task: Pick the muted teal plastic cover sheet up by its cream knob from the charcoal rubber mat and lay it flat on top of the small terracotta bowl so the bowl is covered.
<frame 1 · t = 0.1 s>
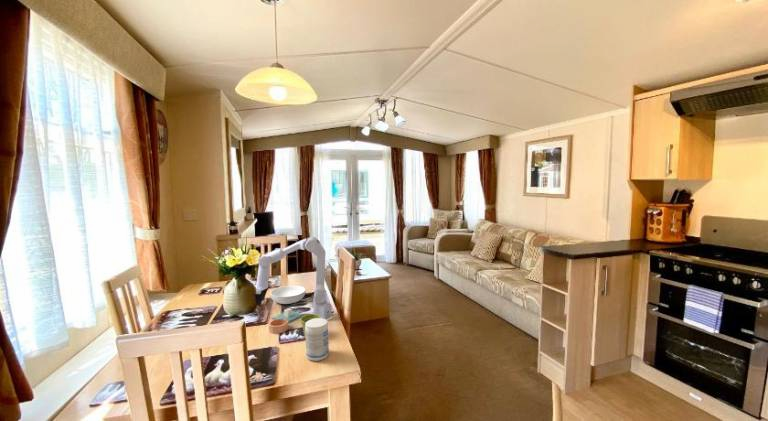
hand: (260, 302, 169), 10 cm above the table, tool pointing down, fingers open, 7 cm apart
serving bowl: (288, 301, 199), on the table
bowl: (278, 330, 160), on the table
supplement tub: (317, 356, 137), on the table
mat: (288, 317, 175), on the table
cover sheet: (288, 316, 175), resting on mat
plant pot: (311, 335, 155), on the table
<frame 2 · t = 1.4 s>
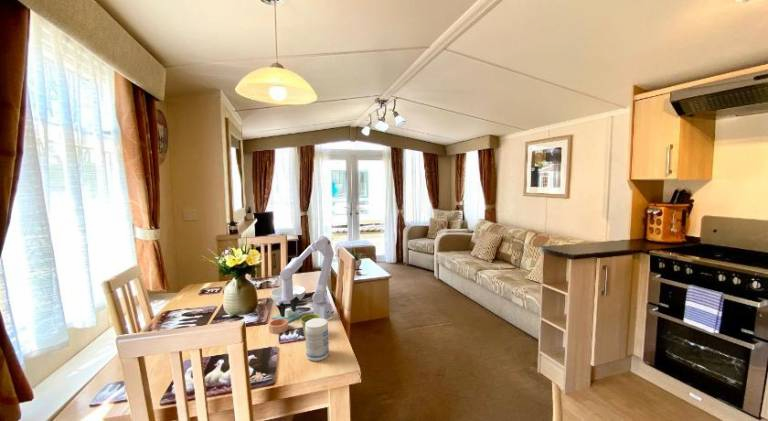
hand: (288, 313, 175), 2 cm above the table, tool pointing down, fingers open, 7 cm apart
nothing on the table moved.
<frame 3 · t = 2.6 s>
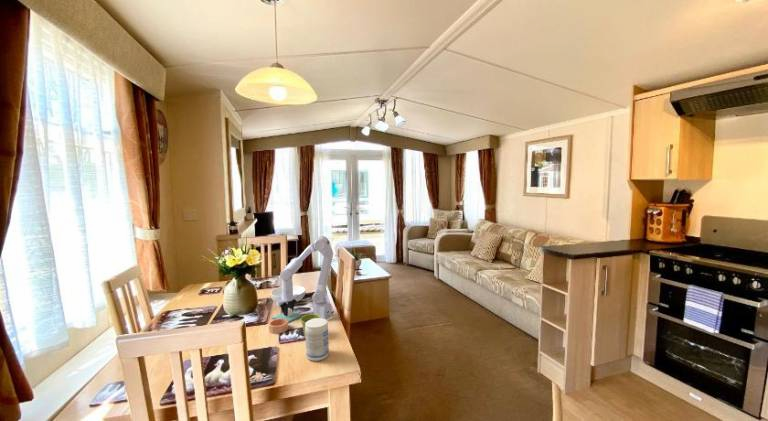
hand: (288, 314, 175), 2 cm above the table, tool pointing down, fingers closed on cover sheet, 3 cm apart
cover sheet: (288, 316, 175), resting on mat, touching gripper
everything else where it was.
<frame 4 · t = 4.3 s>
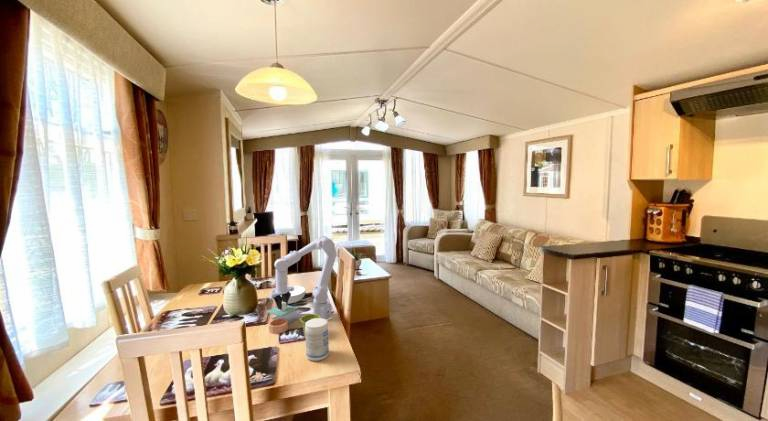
hand: (282, 307, 166), 9 cm above the table, tool pointing down, fingers closed on cover sheet, 3 cm apart
cover sheet: (282, 310, 166), point 7 cm above the table, touching gripper
everything else where it was.
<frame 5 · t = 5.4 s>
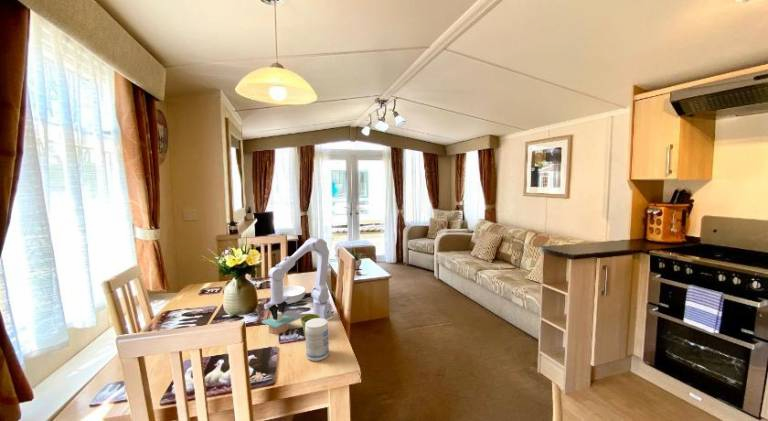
hand: (278, 317, 160), 6 cm above the table, tool pointing down, fingers closed on cover sheet, 3 cm apart
cover sheet: (278, 321, 160), point 5 cm above the table, touching gripper
everything else where it was.
when the fingers open (6 cm above the table, at t = 6.0 s): cover sheet stays where it is, resting on bowl.
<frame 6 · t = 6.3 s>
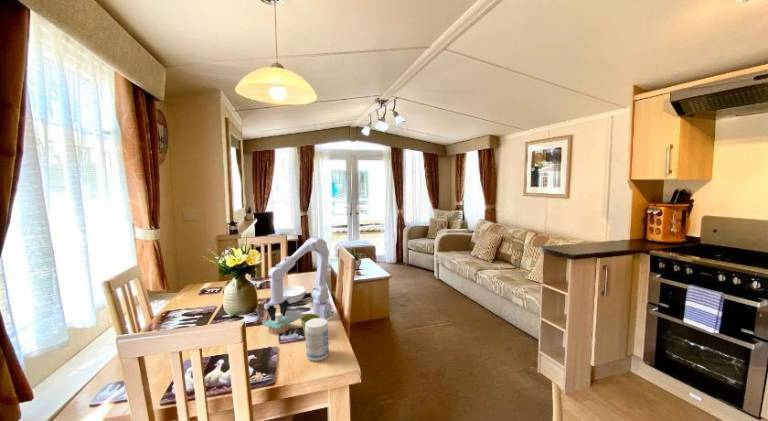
hand: (278, 317, 160), 6 cm above the table, tool pointing down, fingers open, 6 cm apart
cover sheet: (278, 322, 160), point 4 cm above the table, touching bowl
everything else where it was.
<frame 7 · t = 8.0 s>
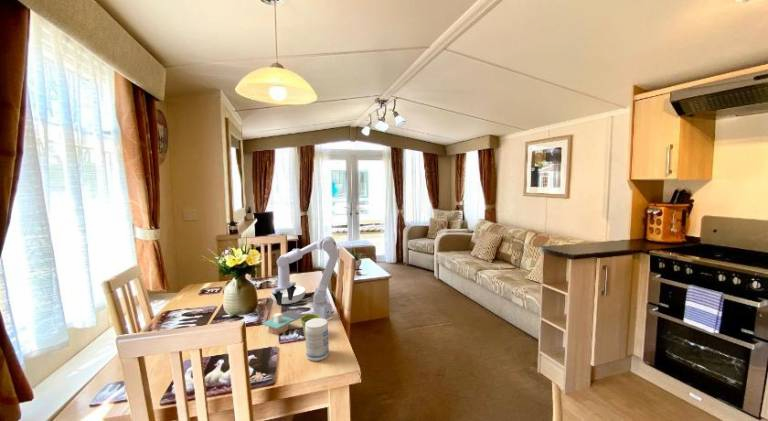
hand: (284, 302, 172), 9 cm above the table, tool pointing down, fingers open, 7 cm apart
nothing on the table moved.
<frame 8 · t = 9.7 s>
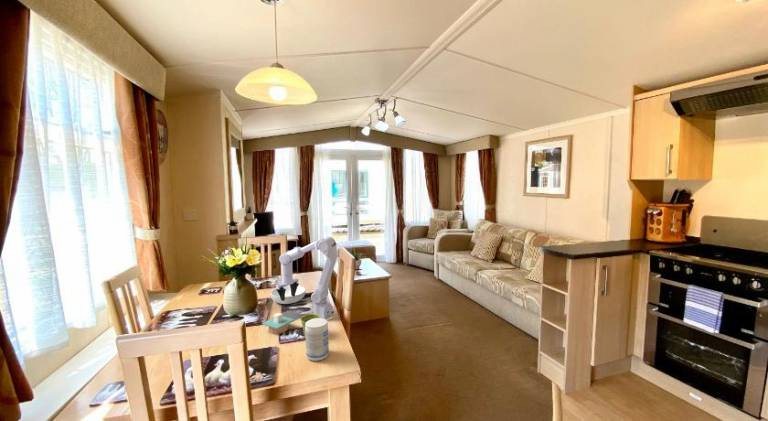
hand: (288, 298, 178), 9 cm above the table, tool pointing down, fingers open, 7 cm apart
nothing on the table moved.
at the end: cover sheet 0.0 cm off-centre on the bowl, point 4.0 cm above the bowl's base; cover sheet tilted 0°; the gripper is holding nothing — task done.
